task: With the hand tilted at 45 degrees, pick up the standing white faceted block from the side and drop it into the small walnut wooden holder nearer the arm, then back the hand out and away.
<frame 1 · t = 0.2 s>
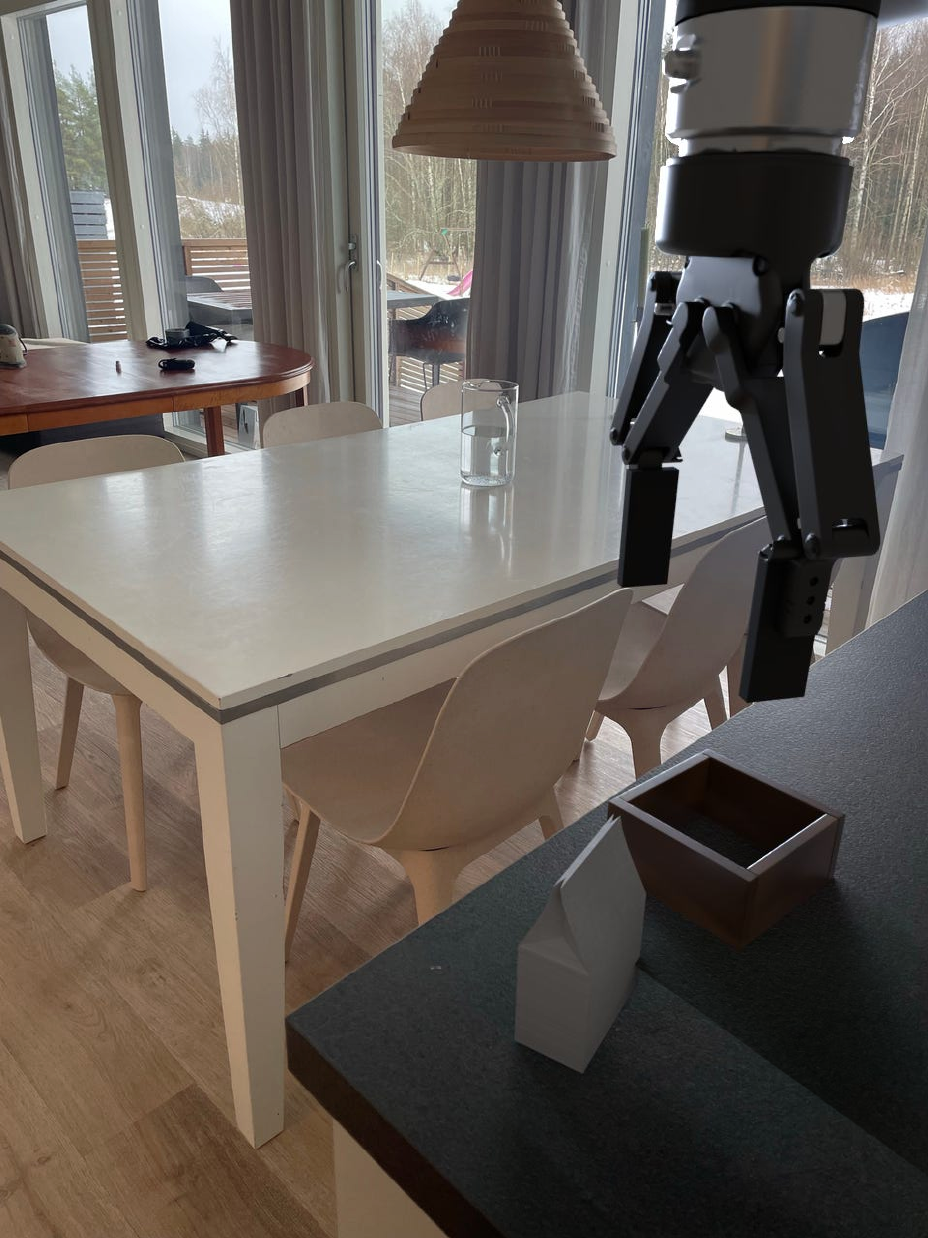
hand: (698, 633, 46), 19 cm above the kitchen counter, tool pointing down, fingers open, 13 cm apart
holder: (714, 895, 56), on the kitchen counter
white faceted block: (577, 1014, 48), on the kitchen counter
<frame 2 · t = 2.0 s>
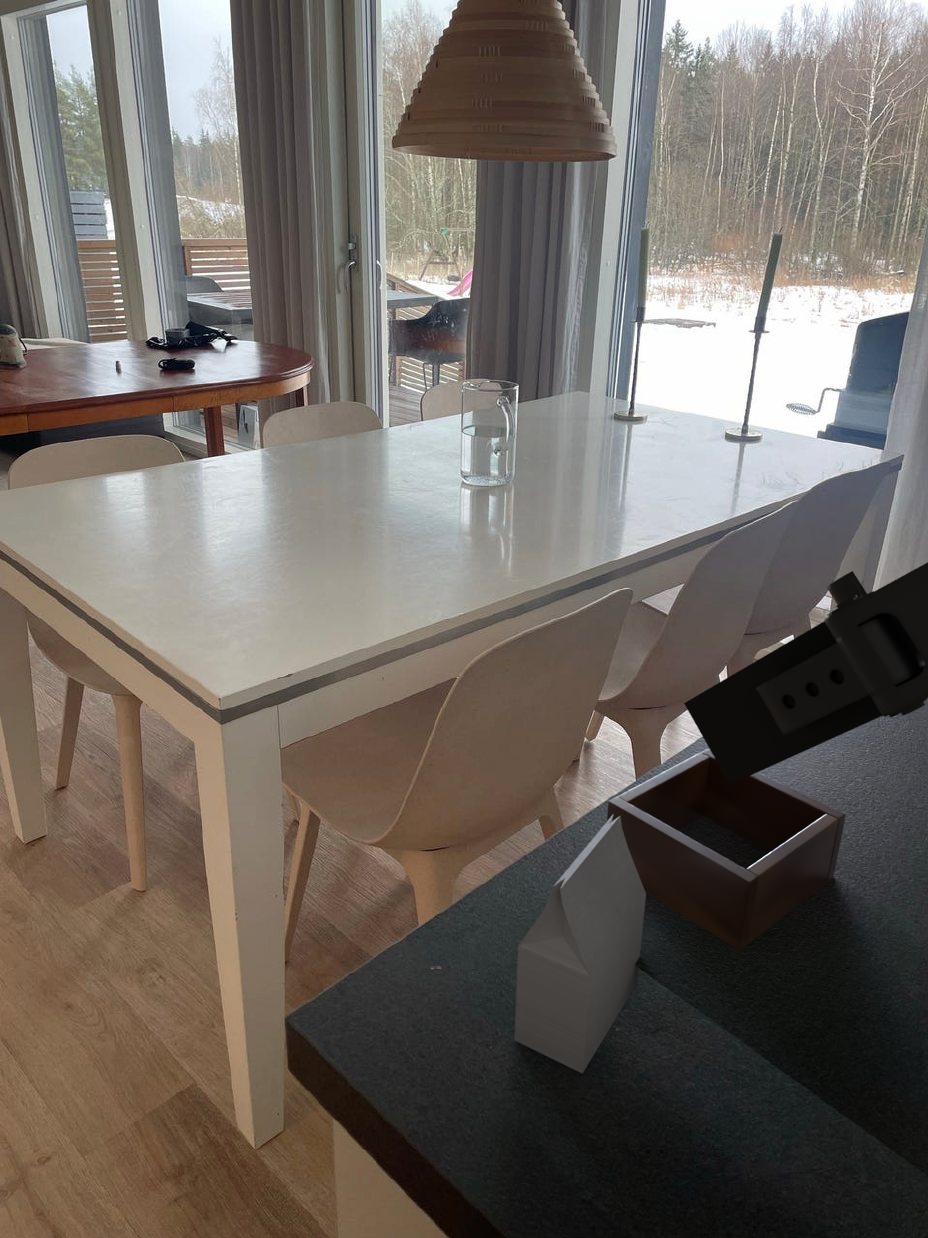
hand: (834, 678, 32), 23 cm above the kitchen counter, tool tilted 45°, fingers open, 13 cm apart
nothing on the kitchen counter moved.
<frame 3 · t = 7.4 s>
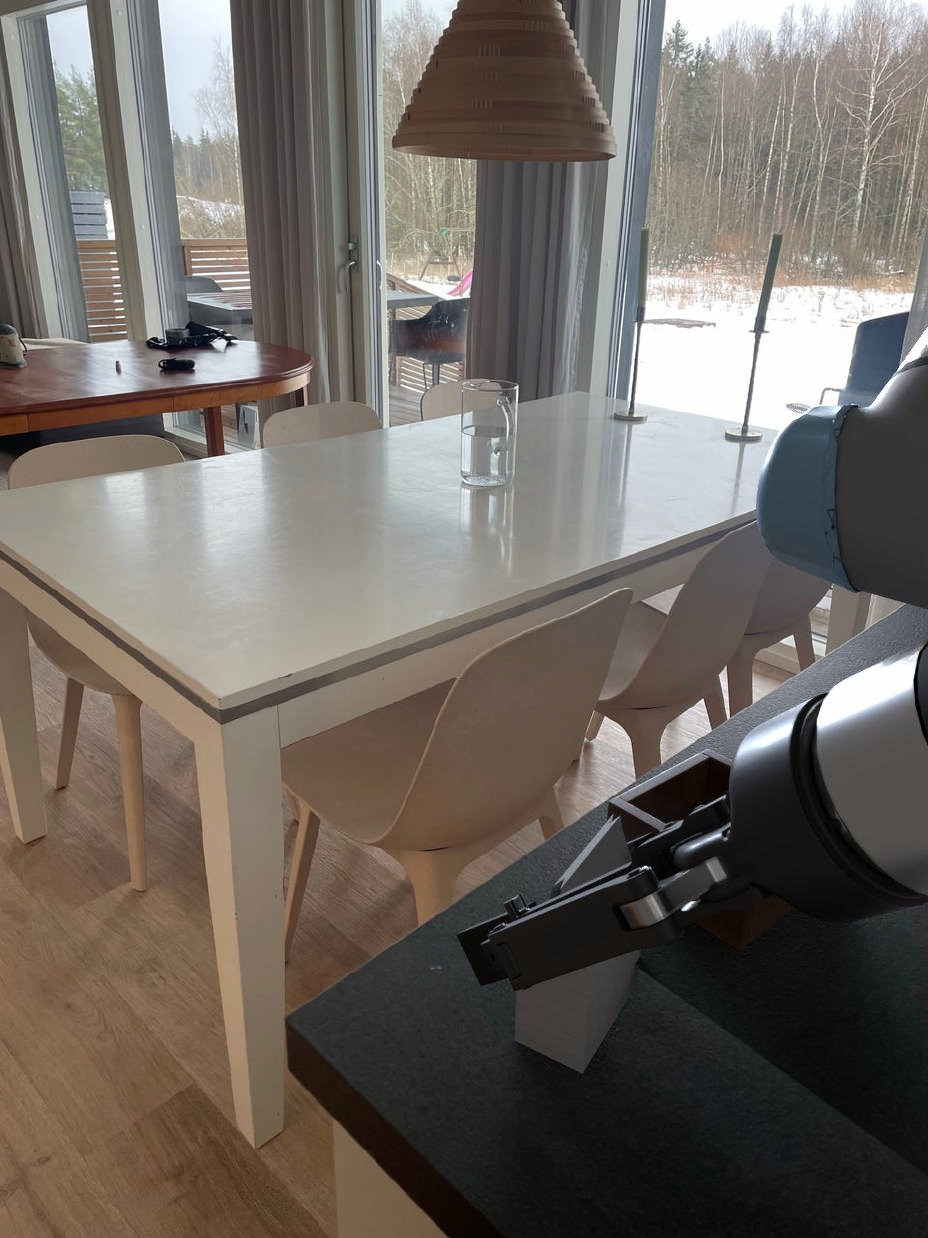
hand: (534, 920, 49), 4 cm above the kitchen counter, tool tilted 45°, fingers closed on white faceted block, 8 cm apart
white faceted block: (577, 1014, 48), on the kitchen counter, touching gripper
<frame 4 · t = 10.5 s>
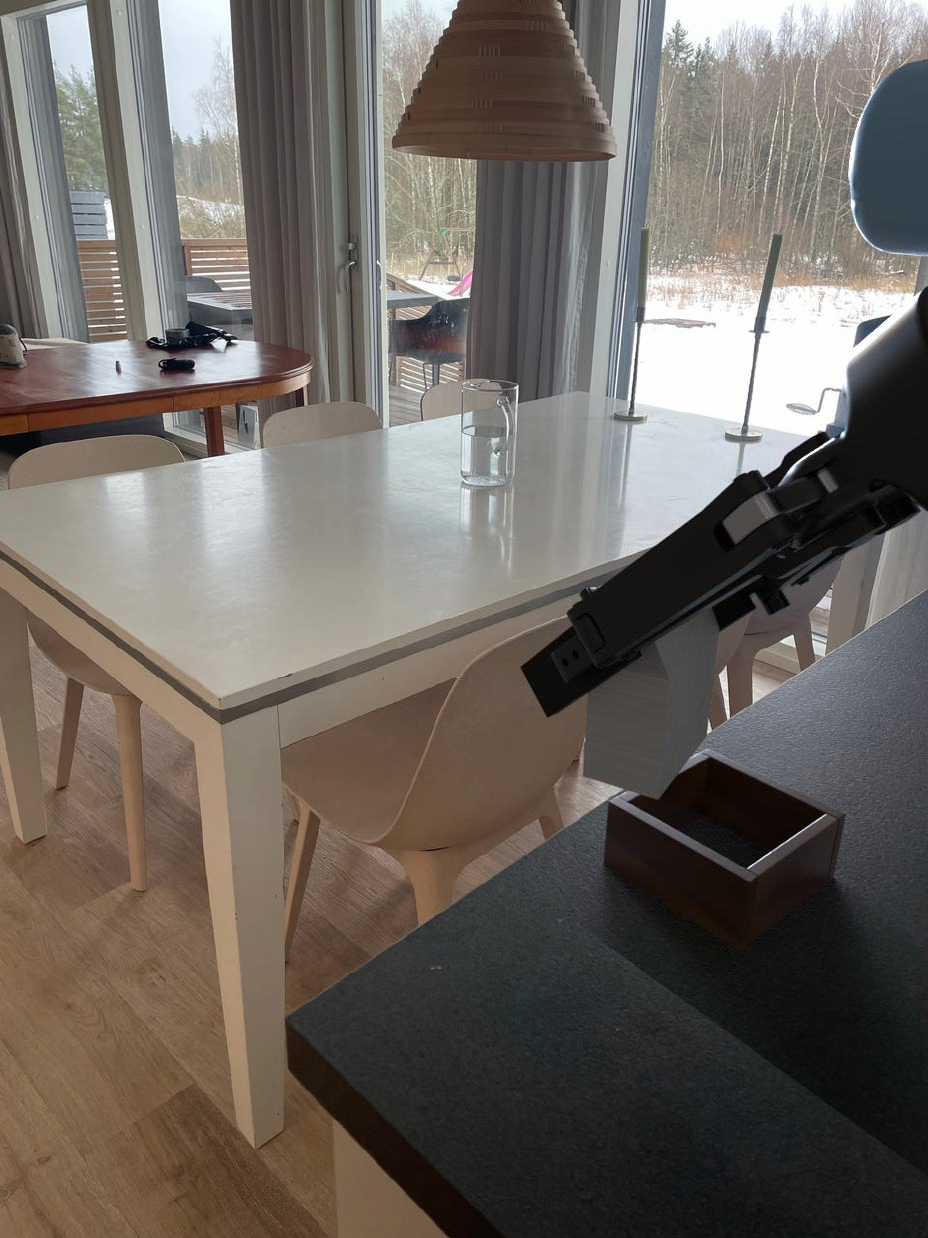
hand: (598, 665, 46), 17 cm above the kitchen counter, tool tilted 45°, fingers closed on white faceted block, 8 cm apart
white faceted block: (646, 758, 45), point 13 cm above the kitchen counter, touching gripper
when the fingers open (8 cm above the kitchen counter, at t = 13.9 s): white faceted block stays where it is, resting on holder.
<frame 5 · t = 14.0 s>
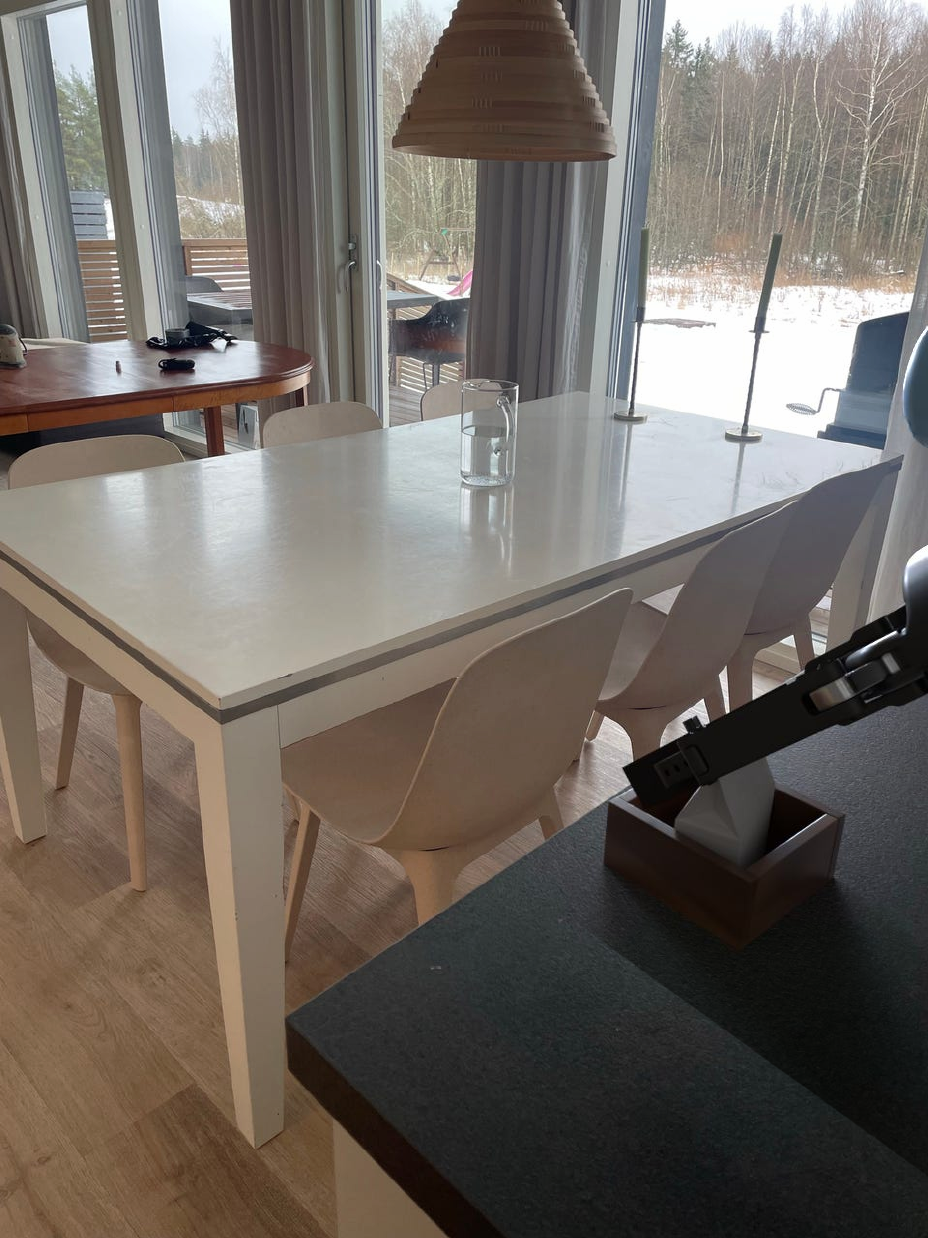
hand: (679, 764, 56), 8 cm above the kitchen counter, tool tilted 45°, fingers open, 7 cm apart
white faceted block: (715, 888, 56), point 1 cm above the kitchen counter, touching gripper, holder
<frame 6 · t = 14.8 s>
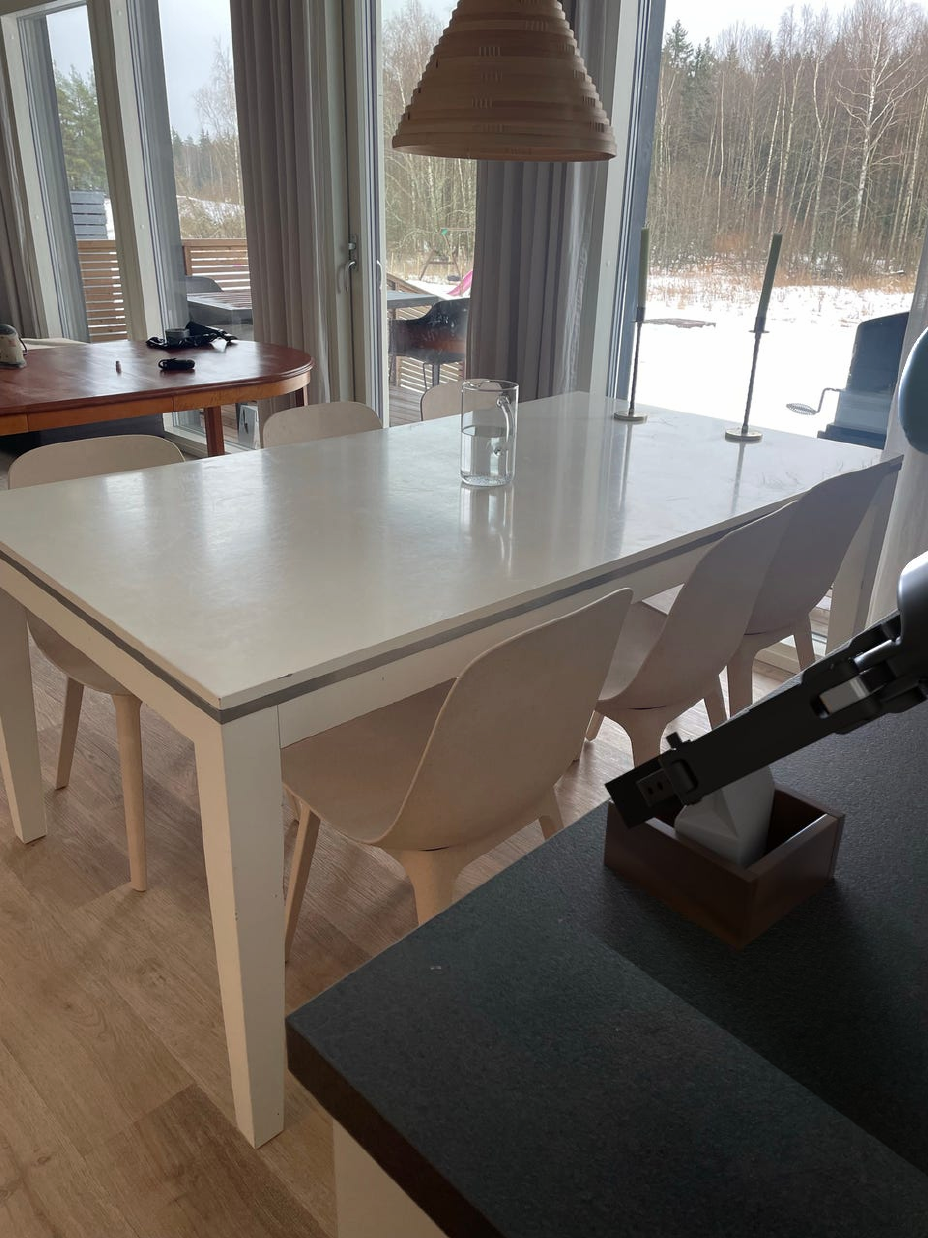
hand: (696, 763, 55), 8 cm above the kitchen counter, tool tilted 45°, fingers open, 13 cm apart
white faceted block: (715, 888, 56), point 1 cm above the kitchen counter, touching holder
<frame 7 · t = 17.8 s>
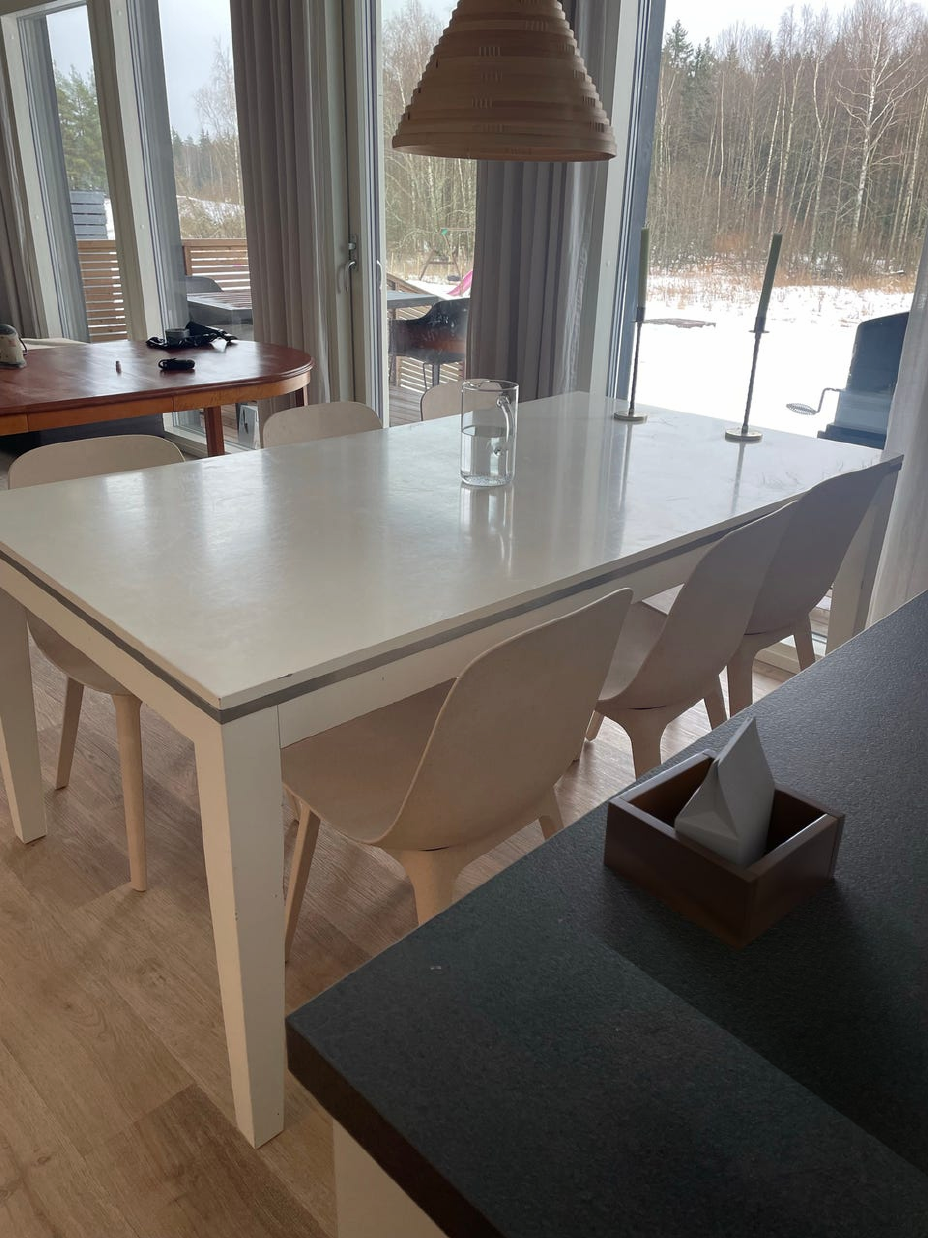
nothing on the kitchen counter moved.
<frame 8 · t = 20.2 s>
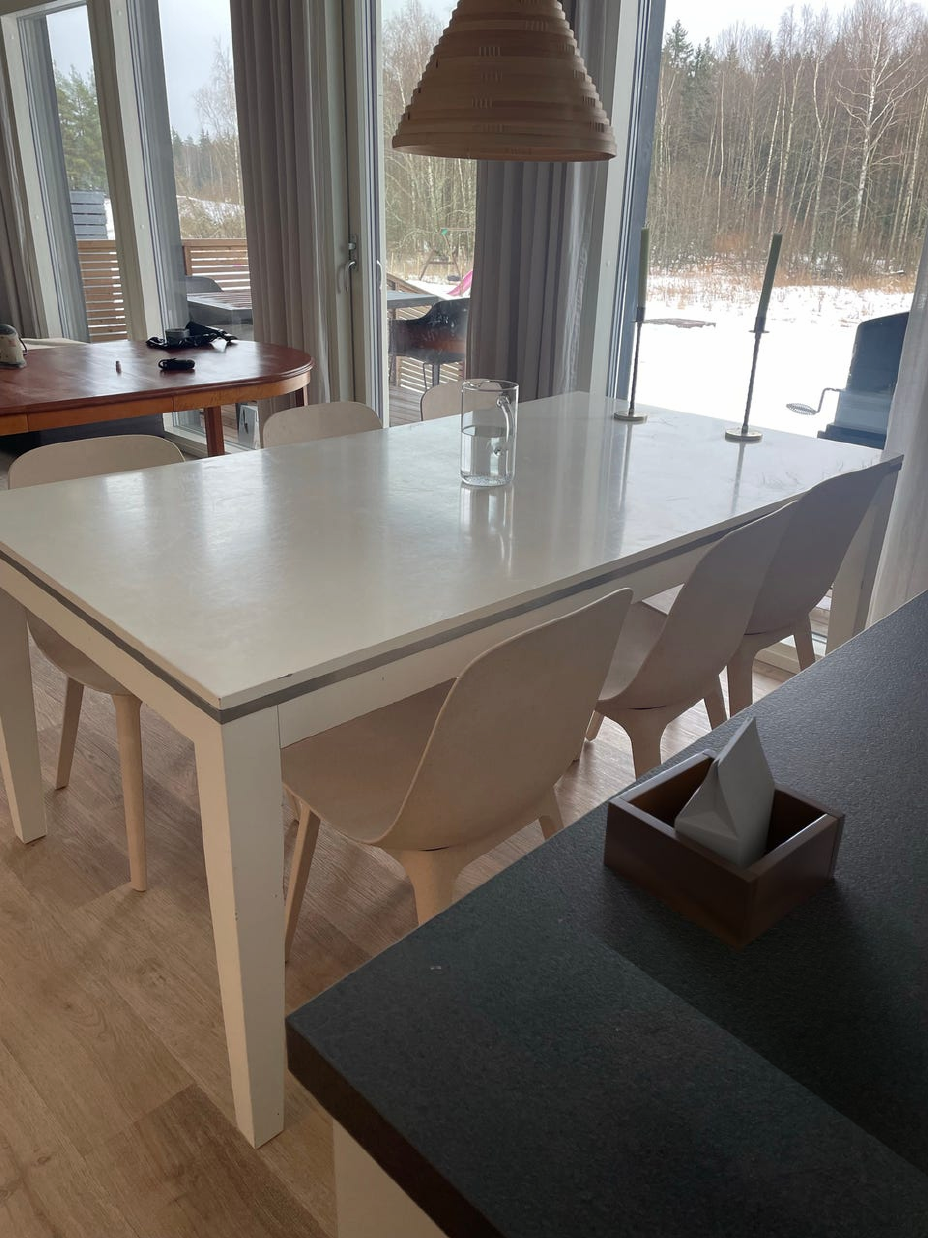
nothing on the kitchen counter moved.
at the end: white faceted block inside the target area in the holder (0.0 cm from its centre), point 0.6 cm above the holder's base; the gripper is holding nothing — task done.
